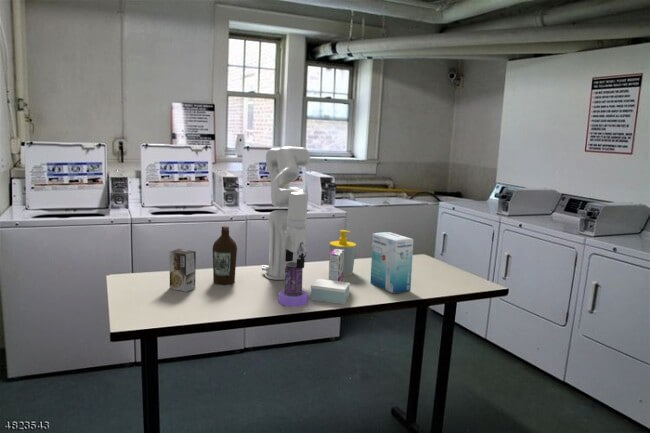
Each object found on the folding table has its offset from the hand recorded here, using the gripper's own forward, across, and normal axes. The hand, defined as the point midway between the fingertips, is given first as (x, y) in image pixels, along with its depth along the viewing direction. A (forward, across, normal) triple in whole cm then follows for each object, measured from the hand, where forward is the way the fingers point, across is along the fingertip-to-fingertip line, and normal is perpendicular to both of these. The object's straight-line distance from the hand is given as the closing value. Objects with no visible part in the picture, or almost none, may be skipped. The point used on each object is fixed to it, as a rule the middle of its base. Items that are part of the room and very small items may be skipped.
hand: (294, 264), depth 205 cm
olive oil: (+16, -33, -17) cm, 41 cm away
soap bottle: (+17, -28, +41) cm, 53 cm away
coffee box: (+16, -31, -36) cm, 50 cm away
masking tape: (+16, +1, 0) cm, 16 cm away
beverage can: (+12, +1, 0) cm, 12 cm away
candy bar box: (+16, -8, +26) cm, 31 cm away
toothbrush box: (+16, +1, +49) cm, 52 cm away
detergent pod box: (+15, +4, +16) cm, 22 cm away
